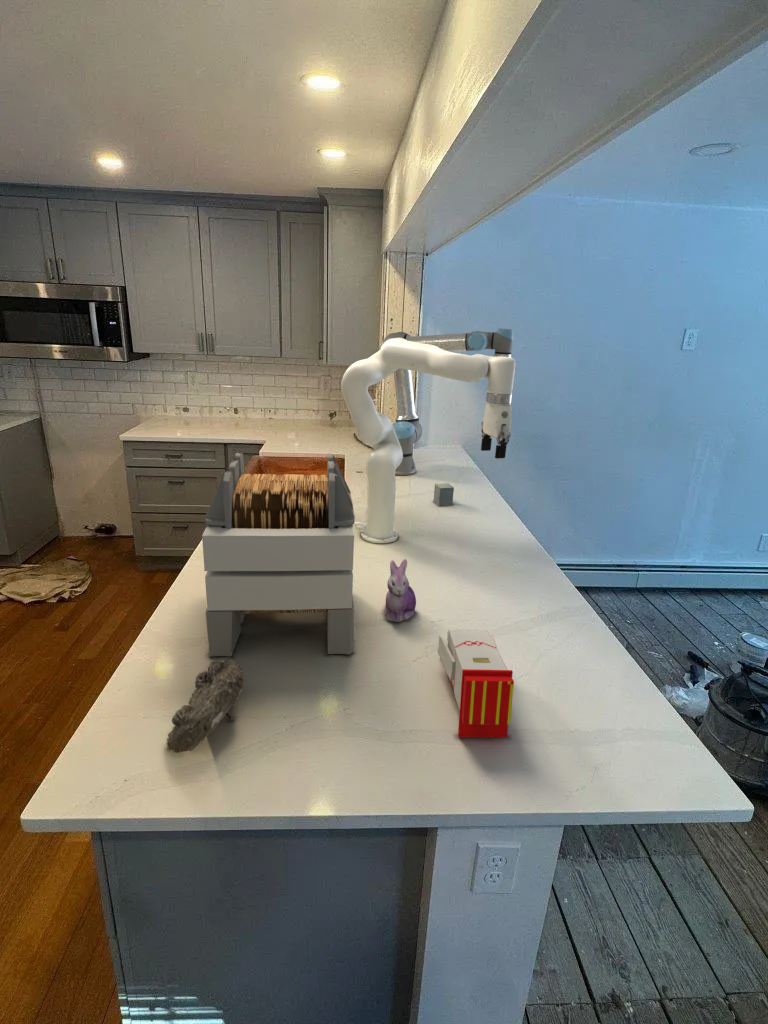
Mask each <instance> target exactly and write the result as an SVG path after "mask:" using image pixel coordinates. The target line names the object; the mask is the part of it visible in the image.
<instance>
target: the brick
mask: <svg viewBox="0 0 768 1024" xmlns="http://www.w3.org/2000/svg"><path fill="white" fill-rule="evenodd" d="M454 491H455V488H454V486H453V485H451V484H450V483H447V482H445V483H435V484H434V491H433V503H435V504H436V506H438V507H451V506H453V501H454Z"/></svg>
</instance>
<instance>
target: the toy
mask: <svg viewBox="0 0 768 1024" xmlns="http://www.w3.org/2000/svg"><path fill="white" fill-rule="evenodd" d="M446 640H447V643H446V641H445V639H444V636H443V635H442V634H439V637H438V646H437V656H438V657H439V659H440V661H441V663H442V666H443V668H444V670H445V672H446V674H447V677H448V679H449V681H450V684H451V687H452V690H453V693H454V697H455V701H456V705H457V708H458V711H459V714H458V715H459V716H458V730H457V731H458V732H457V737H458V738H508V731H509V726H510V725H511V717H512V707H513V697H514V696H513V695H514V684H515V680H514V679H513V673H514V671H513V670H512V669H508V667H507V665H506V662H505V661H504V659H503V658H502V655H501V653H500V651H499V649H498V647H497V643H496V639H495V637H494V635H493V634H491V632H490V631H489V629H467V628H466V629H465V628H463V629H461V628H460V629H459V628H448V630H447V639H446Z"/></svg>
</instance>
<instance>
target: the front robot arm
mask: <svg viewBox="0 0 768 1024" xmlns="http://www.w3.org/2000/svg"><path fill="white" fill-rule="evenodd" d="M399 368H401V369H407V370H411V371H413V372H418V373H424V374H429V375H431V376H437V377H442V378H445V379H450V380H456V381H459V382H460V381H461V382H467V383H477V382H480V381H481V380H487V387H486V396H485V408H484V414H483V421H482V422H481V431H480V432H481V444H480V445H481V446H480V450H481V451H482V452H485V451H486V452H490V451H491V449H492V442H493V441H492V440H493V438H495V440H496V445H495V452H494V458H495V459H505V458H506V454H507V446H508V444H509V441H510V438H511V436H512V435H511V428H512V427H511V426H512V397H513V388H514V380H515V370H516V360H515V358H513V357H512V356H511V357H501V356H497V357H494V356H491V355H486V354H481V353H475V354H472V355H469V354H464V353H459V352H449V351H445V350H443V349H441V348H439V347H437V346H435V345H430V344H424V343H417V342H412V341H407V340H406V339H403V338H393V339H389V340H387V341H386V342H384V344H383V343H382V345H381V347H380V349H379V350H378V351H377V352H375V353H373V354H372V355H371V356H369V357H368V358H364V359H359V360H357V361H355V362H354V363H352V364H351V365H350V366H348V368H347V369H346V371H344V373H343V375H342V379H341V381H340V382H341V383H340V388H341V395H342V398H343V401H344V402H345V405H346V407H347V410H348V413H349V415H350V419H351V421H352V423H353V426H354V429H355V431H356V435H357V436H358V439H359V440H360V441H362V442H363V443H364V444H365V445H364V444H363V445H364V446H366V445H369V446H371V447H373V449H374V450H373V449H372V451H371V452H370V453H369V455H368V457H367V459H366V480H367V483H366V519H365V520H366V521H364V522H362V521H355V522H354V527H355V529H356V530H361V534H360V535H361V538H362V539H363V540H364V541H366V542H368V543H373V544H389V543H393V542H395V541H397V540H398V537H399V534H398V532H397V531H396V530H395V528H394V527H395V510H396V509H395V508H396V507H395V506H396V491H397V490H396V489H397V487H396V485H397V484H396V475H395V470H396V468H397V467H398V466H399V465H400V464H401V462H402V459H403V452H402V448H401V446H400V443H399V440H398V438H397V435H396V433H395V430H394V427H393V425H392V424H393V423H392V421H391V419H390V418H389V417H388V416H387V415H386V414H385V413H382V412H378V411H377V408H376V405H375V403H374V400H373V398H372V396H371V395H370V393H369V387H371V386H374V385H376V384H379V383H380V382H382V381H383V380H384V379H387V378H388V377H389V376H391V375H392V374H394V372H395V371H396V370H398V369H399Z"/></svg>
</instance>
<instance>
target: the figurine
mask: <svg viewBox="0 0 768 1024" xmlns="http://www.w3.org/2000/svg"><path fill="white" fill-rule="evenodd" d="M407 567H408V559H406V558H404V559H403V560H402V561H401V563H400V565H399V566H398V565H397V563H396V562H395V561H394V560H393V559H391V560H390V561H389V570H390V576H389V578H388V579H387V589H388V591H387V592H386V594H385V595H386V596H385V607H384V615H385V616H386V620H387V621H391V622H395V623H400V622H402V621H406V620H409V619H410V618H411V617H413V616H414V615H415V610H416V606H417V597H416V593H415V591H414V590H413V587H411V586H410V582H409V579H408V577H407V574H406V571H407Z"/></svg>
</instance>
